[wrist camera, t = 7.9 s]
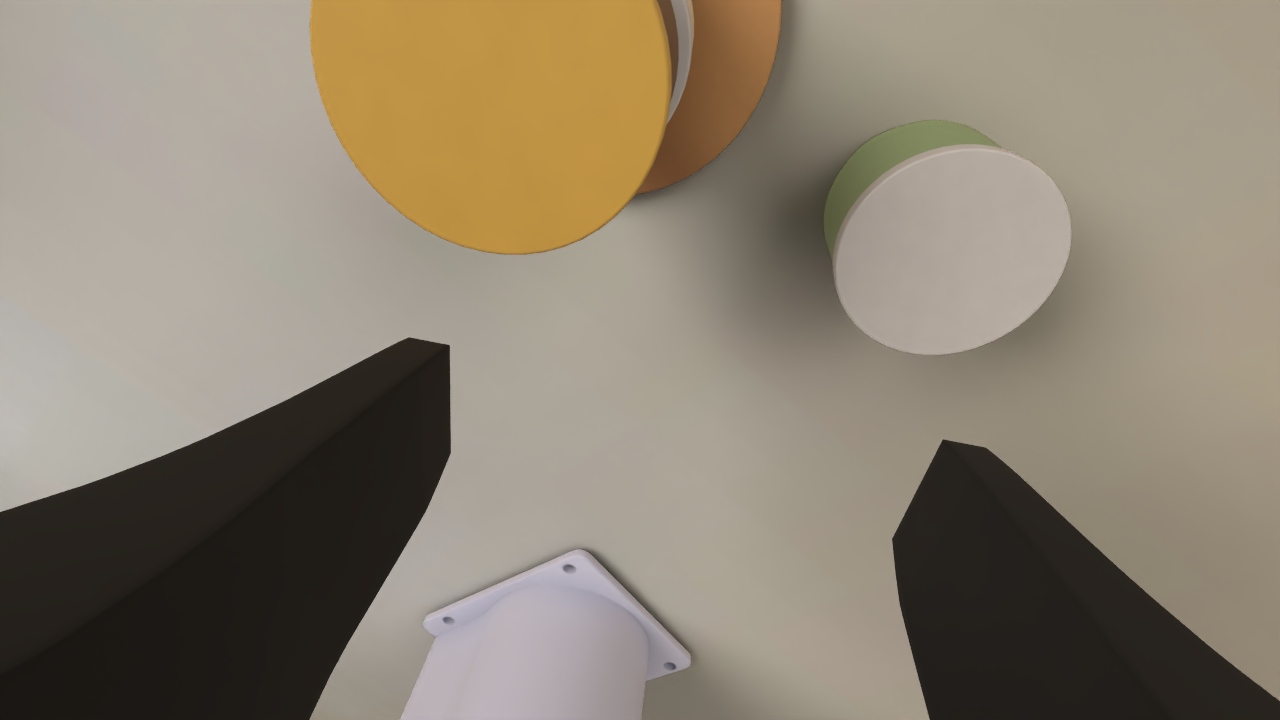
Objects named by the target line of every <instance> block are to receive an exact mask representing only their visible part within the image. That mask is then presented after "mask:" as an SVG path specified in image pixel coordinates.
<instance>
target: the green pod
mask: <svg viewBox="0 0 1280 720" xmlns="http://www.w3.org/2000/svg"><path fill="white" fill-rule="evenodd" d="M823 221H824V234H825V240H826V243H827V246H828V250H829V253H830V256H831V259H832V262H833V277H834V282H835V287H836V290H837V293H838V296H839V299H840V302H841V304H842V306H843V308H844V310H845V312H846V314H847V315H848V316H849V318H850V319H851V320H852V322H853V323H854V324H855V325H856V326H857V327H858V328H859V329H860V330H861V331H862V332H863V333H865V334H866V335H867V336H869V337H870V338H871V339H873V340H875V341H877V342H879V343H880V344H882V345H884V346H887V347H889V348H892V349H895V350H898V351H902V352H906V353H911V354H919V355H945V354H953V353H958V352H964V351H967V350H971V349H974V348H978V347H980V346H983V345H985V344H988V343H990V342H993V341H995V340H996V339H998V338H1000V337H1002V336H1004V335H1006V334H1008V333H1009V332H1011V331H1012V330H1014V329H1015V328H1017V327H1018V326H1020V325H1021V324H1022V323H1023V322H1025V321H1026V320H1027V319H1028V318H1030V317H1031V316H1032V315H1033V314H1034V313H1035V312H1036V311H1037V310H1038V309H1039V308H1040V307H1041V306H1042V304H1043V303H1044V302H1045V301H1046V299H1047V298H1048V297H1049V296H1050V294H1051V293H1052V291H1053V290H1054V288H1055V287H1056V285H1057V283H1058V282H1059V280H1060V278H1061V275H1062V273H1063V271H1064V269H1065V266H1066V263H1067V260H1068V257H1069V252H1070V246H1071V228H1072V227H1071V220H1070V213H1069V210H1068V207H1067V204H1066V201H1065V199H1064V197H1063V195H1062V193H1061V192H1060V190H1059V188H1058V187H1057V185H1056V184H1055V183H1054V182H1053V180H1052V179H1051V178H1050V177H1049V176H1048V175H1047V174H1046V173H1045V172H1044V171H1042V170H1041V169H1040V168H1039V167H1038V166H1036V165H1035V164H1033V163H1032V162H1030V161H1029V160H1027V159H1025V158H1024V157H1022V156H1020V155H1018V154H1016V153H1013V152H1011V151H1009V150H1006V149H1003V148H1002V147H1000V146H999V145H998V144H996V143H995V142H993V141H992V140H991V139H989V138H988V137H987V136H985V135H983V134H982V133H980V132H979V131H977V130H975V129H973V128H971V127H968V126H966V125H963V124H959V123H955V122H950V121H941V120H929V121H920V122H913V123H909V124H906V125H902V126H899V127H896V128H893V129H890V130H888V131H885V132H883V133H881V134H879V135H877V136H875V137H873V138H872V139H870V140H869V141H867V142H866V143H865V144H863V145H862V146H861V147H860V148H859V149H858V150H857V151H855V153H854V154H853V155H852V156H851V157H850V158H849V159H848V161H847V162H846V164H845V165H844V166H843V168H842V169H841V171H840V172H839V174H838V175H837V177H836V179H835V181H834V183H833V184H832V186H831V189H830V192H829V194H828V197H827V201H826V205H825V209H824V219H823Z"/></svg>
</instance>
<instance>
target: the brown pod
mask: <svg viewBox="0 0 1280 720" xmlns="http://www.w3.org/2000/svg"><path fill="white" fill-rule="evenodd" d="M310 37H311V53H312V59H313V65H314V71H315V77H316V81H317V84H318V88H319V92H320V95H321V99H322V102H323V105H324V107H325V110H326V112H327V115H328V117H329V120H330V122H331V125H332V127H333V129H334V131H335V132H336V134H337V136H338V138H339V140H340V142H341V144H342V146H343V148H344V149H345V151H346V152H347V154H348V155H349V157H350V158H351V160H352V161H353V163H354V164H355V166H356V167H357V169H358V170H359V171H360V172H361V174H362V175H363V176H364V177H365V178H366V180H367V181H368V182H369V183H370V185H371V186H372V187H373V188H374V189H375V190H376V191H377V192H378V193H379V194H380V195H381V196H382V197H383V198H384V199H385V200H386V201H387V202H388V203H389V204H391V205H392V206H393V207H394V208H395V209H397V210H398V211H399V212H400V213H401V214H403V215H404V216H405V217H407V218H408V219H410V220H411V221H413V222H414V223H416V224H417V225H419V226H420V227H422V228H423V229H425V230H427V231H429V232H431V233H433V234H435V235H437V236H439V237H441V238H442V239H445V240H447V241H450V242H453V243H455V244H458V245H461V246H463V247H467V248H471V249H475V250H479V251H483V252H490V253H497V254H532V253H541V252H546V251H550V250H554V249H558V248H562V247H565V246H567V245H570V244H572V243H575V242H577V241H579V240H582V239H584V238H585V237H587V236H589V235H590V234H592V233H594V232H596V231H597V230H599V229H600V228H602V227H603V226H604V225H605V224H607V223H608V222H609V221H610V220H612V219H613V218H614V217H615V216H616V215H617V214H618V213H619V212H620V211H621V210H622V209H623V208H624V207H625V206H626V205H627V204H628V203H629V202H630V201H631V199H632V198H633V196H634V195H635V194H636V192H637V191H638V190H639V188H640V187H641V185H642V184H643V182H644V180H645V179H646V177H647V175H648V173H649V171H650V169H651V167H652V165H653V163H654V161H655V158H656V155H657V153H658V150H659V147H660V145H661V142H662V139H663V137H664V133H665V128H666V124H667V120H668V116H669V109H670V102H671V99H672V96H673V92H674V87H675V83H676V79H677V70H678V61H679V46H678V33H677V25H676V18H675V14H674V11H673V7H672V3H671V0H312V4H311V18H310Z"/></svg>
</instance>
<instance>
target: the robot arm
mask: <svg viewBox="0 0 1280 720" xmlns="http://www.w3.org/2000/svg"><path fill="white" fill-rule="evenodd" d="M450 453H451V430H450V345H446V344H440V343H435V342H430V341H425V340H419V339H414V338H407V339H404V340H402V341H400V342H398V343H396V344H394V345H392V346H390V347H388V348H386V349H384V350H382V351H380V352H378V353H376V354H374V355H372V356H370V357H368V358H367V359H365V360H363V361H361V362H359V363H357V364H355V365H353V366H351V367H350V368H348V369H346V370H344V371H342V372H340V373H338V374H336V375H334V376H332V377H330V378H329V379H327V380H325V381H323V382H321V383H319V384H317V385H315V386H313V387H311V388H309V389H307V390H305V391H303V392H301V393H299V394H298V395H296V396H294V397H292V398H290V399H288V400H286V401H284V402H282V403H280V404H277V405H275V406H273V407H271V408H269V409H267V410H265V411H262V412H260V413H258V414H256V415H254V416H252V417H250V418H247V419H245V420H243V421H241V422H239V423H237V424H235V425H232V426H230V427H228V428H226V429H224V430H222V431H220V432H217V433H215V434H213V435H211V436H209V437H207V438H204V439H202V440H200V441H197V442H195V443H193V444H190V445H188V446H186V447H183V448H181V449H178V450H176V451H173V452H171V453H168V454H166V455H164V456H161V457H159V458H156V459H153V460H151V461H148V462H145V463H143V464H140V465H138V466H135V467H132V468H130V469H127V470H124V471H122V472H119V473H116V474H114V475H111V476H108V477H106V478H103V479H100V480H97V481H95V482H92V483H89V484H86V485H83V486H80V487H77V488H74V489H71V490H68V491H65V492H61V493H58V494H55V495H52V496H49V497H46V498H43V499H40V500H37V501H33V502H30V503H27V504H24V505H21V506H18V507H15V508H12V509H9V510H5V511H2V512H0V720H309V719H310V717H311V715H312V713H313V711H314V708H315V706H316V704H317V702H318V700H319V698H320V696H321V694H322V692H323V689H324V687H325V685H326V683H327V681H328V679H329V677H330V675H331V673H332V671H333V669H334V667H335V666H336V664H337V662H338V660H339V658H340V656H341V655H342V653H343V651H344V649H345V647H346V645H347V644H348V642H349V640H350V639H351V637H352V635H353V633H354V632H355V630H356V628H357V627H358V625H359V623H360V622H361V620H362V618H363V617H364V615H365V613H366V612H367V610H368V608H369V607H370V605H371V603H372V602H373V600H374V598H375V597H376V595H377V593H378V592H379V590H380V588H381V587H382V585H383V583H384V581H385V580H386V578H387V576H388V575H389V573H390V571H391V570H392V568H393V566H394V565H395V563H396V561H397V560H398V558H399V556H400V555H401V553H402V551H403V550H404V548H405V546H406V544H407V543H408V541H409V539H410V538H411V536H412V534H413V532H414V531H415V529H416V527H417V526H418V524H419V522H420V520H421V519H422V517H423V515H424V513H425V512H426V510H427V507H428V505H429V503H430V501H431V498H432V496H433V494H434V492H435V489H436V487H437V485H438V482H439V480H440V478H441V475H442V473H443V470H444V468H445V465H446V463H447V461H448V458H449V456H450ZM892 541H893V551H894V561H895V571H896V579H897V586H898V594H899V601H900V607H901V611H902V615H903V619H904V623H905V627H906V631H907V635H908V639H909V642H910V646H911V650H912V654H913V658H914V662H915V666H916V669H917V673H918V677H919V681H920V684H921V688H922V692H923V696H924V699H925V703H926V707H927V711H928V714H929V718H930V720H1280V701H1279V700H1277V699H1276V698H1275V697H1273V696H1272V695H1271V694H1270V693H1268V692H1267V691H1266V690H1264V689H1263V688H1262V687H1260V686H1259V685H1258V684H1256V683H1255V682H1254V681H1252V680H1251V679H1250V678H1249V677H1247V676H1246V675H1245V674H1243V673H1242V672H1241V671H1239V670H1238V669H1237V668H1236V667H1234V666H1233V665H1232V664H1231V663H1229V662H1228V661H1227V660H1226V659H1224V658H1223V657H1222V656H1221V655H1219V654H1218V653H1217V652H1216V651H1215V650H1213V649H1212V648H1211V647H1210V646H1208V645H1207V644H1206V643H1205V642H1203V641H1202V640H1201V639H1200V638H1199V637H1198V636H1196V635H1195V634H1194V633H1193V632H1192V631H1191V630H1189V629H1188V628H1187V627H1186V626H1185V625H1183V624H1182V623H1181V622H1180V621H1179V620H1178V619H1176V618H1175V617H1174V616H1173V615H1172V614H1171V613H1169V612H1168V611H1167V610H1166V609H1165V608H1163V607H1162V606H1161V605H1160V604H1159V603H1158V602H1156V601H1155V600H1154V599H1153V598H1152V597H1151V596H1149V595H1148V594H1147V593H1146V592H1145V591H1144V590H1143V589H1142V588H1140V587H1139V586H1138V585H1137V584H1136V583H1135V582H1134V581H1133V580H1131V579H1130V578H1129V577H1128V576H1127V575H1126V574H1125V573H1124V572H1122V571H1121V570H1120V569H1119V568H1118V567H1117V566H1116V565H1115V564H1114V563H1113V562H1111V561H1110V560H1109V559H1108V558H1107V557H1106V556H1105V555H1104V554H1103V553H1102V552H1100V551H1099V550H1098V549H1097V548H1096V547H1095V546H1094V545H1093V544H1092V543H1091V542H1090V541H1089V540H1087V539H1086V538H1085V537H1084V536H1083V535H1082V534H1081V533H1080V532H1079V531H1078V530H1077V529H1076V528H1075V527H1074V526H1072V525H1071V524H1070V523H1069V522H1068V521H1067V520H1066V519H1065V518H1064V517H1063V516H1062V515H1061V514H1060V513H1059V512H1057V511H1056V510H1055V509H1054V508H1053V507H1052V506H1051V505H1050V504H1049V503H1048V502H1047V501H1046V500H1045V499H1044V498H1043V497H1041V496H1040V495H1039V494H1038V493H1037V492H1036V491H1035V490H1034V489H1033V488H1032V487H1031V486H1030V485H1029V484H1027V483H1026V482H1025V481H1024V480H1023V479H1022V478H1021V477H1020V476H1019V475H1018V474H1016V473H1015V472H1014V471H1013V470H1012V469H1011V468H1010V467H1009V466H1007V465H1006V464H1005V463H1004V462H1003V461H1002V460H1000V459H999V458H998V457H997V456H996V455H994V454H993V453H992V452H991V451H989V450H988V449H987V448H984V447H979V446H974V445H969V444H964V443H958V442H953V441H948V440H942V442H941V444H940V446H939V448H938V450H937V452H936V454H935V456H934V458H933V460H932V462H931V464H930V466H929V468H928V470H927V472H926V474H925V476H924V478H923V480H922V482H921V484H920V486H919V487H918V489H917V491H916V493H915V495H914V497H913V499H912V501H911V503H910V505H909V507H908V509H907V511H906V513H905V515H904V517H903V519H902V521H901V523H900V525H899V527H898V529H897V531H896V533H895V535H894V536H893V538H892ZM570 565H572V566H570ZM423 626H424V628H425V629H426V630H427V631H428V632H429V633H430V634H432V635H433V636H434V637H435V640H434V642H433V645H432V647H431V649H430V652H429V654H428V656H427V659H426V661H425V663H424V665H423V668H422V670H421V672H420V675H419V677H418V679H417V682H416V684H415V686H414V688H413V691H412V693H411V695H410V698H409V700H408V702H407V705H406V707H405V709H404V712H403V714H402V716H401V718H400V720H641V716H642V708H643V700H644V692H645V683H646V681H649V680H652V679H655V678H658V677H661V676H665V675H668V674H671V673H674V672H677V671H680V670H683V669H686V668H688V667H689V666H690V665H691V655H690V653H689V652H688V651H687V650H686V649H685V648H684V647H683V646H682V645H681V644H680V643H679V642H678V641H677V640H676V639H675V638H674V637H673V636H672V635H671V634H670V633H669V632H668V631H667V630H666V629H665V628H664V627H663V626H662V625H661V624H660V623H659V622H658V621H657V620H656V619H655V618H654V617H653V616H652V615H651V614H650V613H649V612H648V611H647V610H646V609H645V608H644V607H643V606H642V605H641V604H640V603H639V602H638V601H637V600H636V599H635V598H634V597H633V596H632V595H631V594H630V593H629V592H628V591H627V590H626V589H625V588H624V587H623V586H622V585H621V584H620V583H619V582H618V581H617V580H616V579H615V578H614V577H613V576H612V575H611V574H610V573H609V572H608V571H607V570H606V569H605V568H604V567H603V566H602V565H601V564H600V563H599V562H598V561H597V560H596V559H595V558H594V557H593V556H592V555H591V554H590V553H588V552H587V551H585V550H580V549H577V550H573V551H571V552H568V553H566V554H564V555H562V556H559V557H557V558H555V559H553V560H550V561H548V562H546V563H543V564H541V565H539V566H537V567H534V568H532V569H530V570H528V571H525V572H523V573H521V574H519V575H516V576H514V577H512V578H509V579H507V580H505V581H503V582H500V583H498V584H496V585H494V586H491V587H489V588H487V589H485V590H482V591H480V592H478V593H475V594H473V595H471V596H469V597H466V598H464V599H462V600H460V601H457V602H455V603H453V604H451V605H448V606H446V607H444V608H441V609H439V610H437V611H435V612H432V613H430V614H428V615H427V616H426V617H425V620H424V622H423Z"/></svg>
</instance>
